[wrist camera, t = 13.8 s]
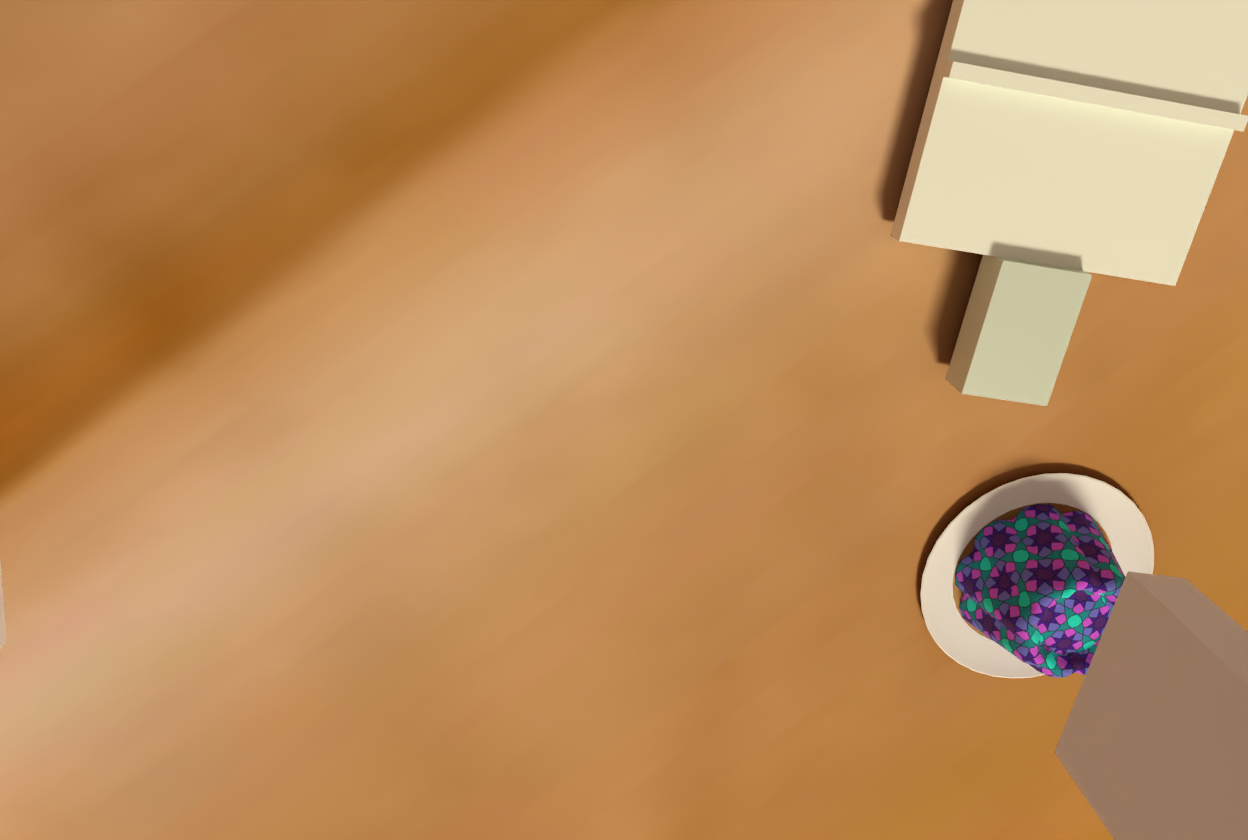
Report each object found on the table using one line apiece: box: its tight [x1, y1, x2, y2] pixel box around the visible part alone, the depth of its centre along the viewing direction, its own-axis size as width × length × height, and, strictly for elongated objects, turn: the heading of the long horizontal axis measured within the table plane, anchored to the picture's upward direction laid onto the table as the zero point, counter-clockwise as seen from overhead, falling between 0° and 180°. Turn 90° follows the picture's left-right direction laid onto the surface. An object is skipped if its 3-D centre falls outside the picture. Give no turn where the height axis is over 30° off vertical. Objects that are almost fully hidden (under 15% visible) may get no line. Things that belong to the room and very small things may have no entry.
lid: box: [891, 0, 1248, 406], centre depth 39 cm, size 13×27×3 cm, turn 171°
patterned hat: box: [920, 473, 1154, 678], centre depth 47 cm, size 12×12×5 cm
